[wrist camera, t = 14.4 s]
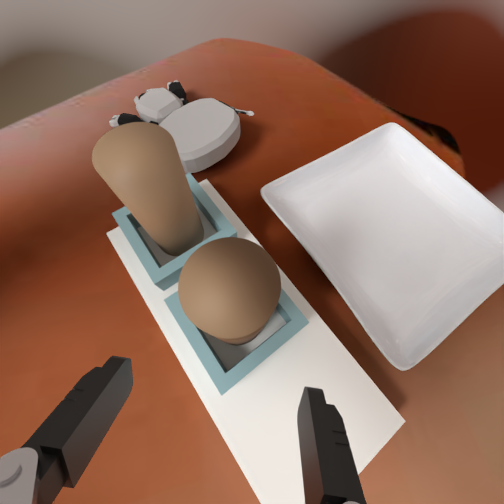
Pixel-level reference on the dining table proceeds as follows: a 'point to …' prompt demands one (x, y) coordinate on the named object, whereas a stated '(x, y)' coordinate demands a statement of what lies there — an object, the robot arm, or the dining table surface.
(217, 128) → the robot toy
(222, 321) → the walnut column
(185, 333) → the base board
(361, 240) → the salad plate
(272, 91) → the dining table surface
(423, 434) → the dining table surface
